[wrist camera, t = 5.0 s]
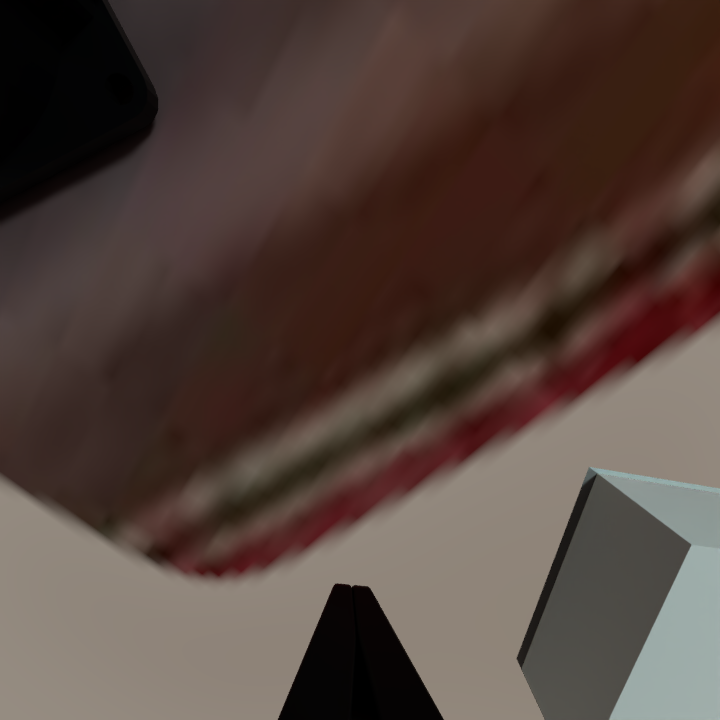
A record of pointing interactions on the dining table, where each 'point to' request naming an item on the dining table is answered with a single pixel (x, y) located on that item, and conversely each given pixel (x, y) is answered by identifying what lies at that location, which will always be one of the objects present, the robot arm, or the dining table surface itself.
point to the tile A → (630, 605)
